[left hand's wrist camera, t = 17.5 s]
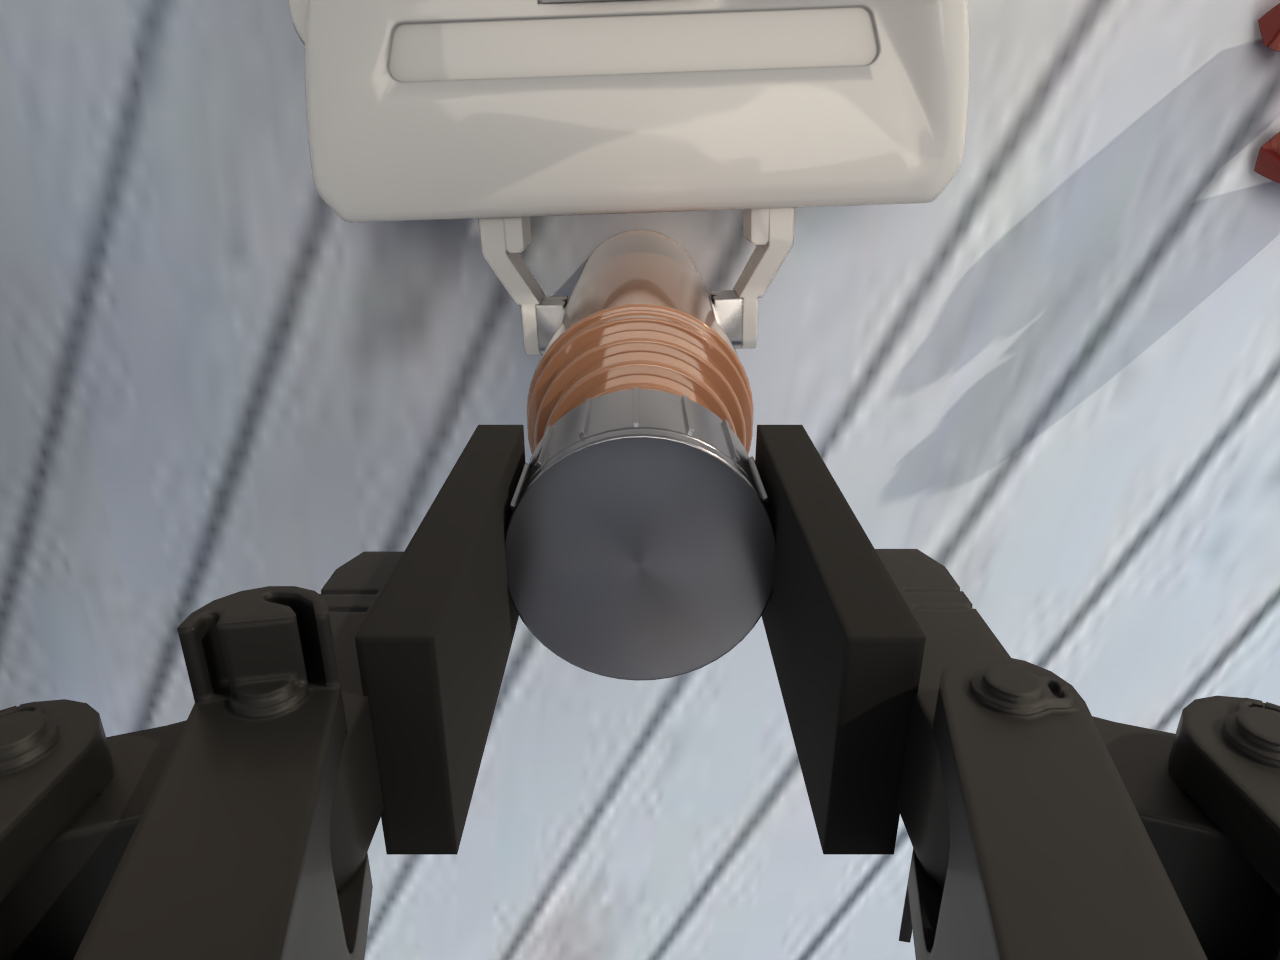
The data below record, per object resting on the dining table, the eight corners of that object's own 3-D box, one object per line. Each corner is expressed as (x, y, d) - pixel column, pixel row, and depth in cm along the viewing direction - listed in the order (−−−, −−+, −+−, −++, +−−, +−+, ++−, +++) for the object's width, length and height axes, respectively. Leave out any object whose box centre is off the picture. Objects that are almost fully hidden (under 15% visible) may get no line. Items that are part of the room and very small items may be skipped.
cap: (776, 579, 15) (800, 654, 13) (557, 624, 15) (543, 704, 13) (734, 361, 13) (753, 403, 11) (492, 417, 14) (464, 467, 12)
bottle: (604, 369, 36) (547, 727, 14) (560, 255, 34) (413, 455, 12) (716, 329, 36) (847, 638, 13) (677, 211, 34) (753, 335, 11)
